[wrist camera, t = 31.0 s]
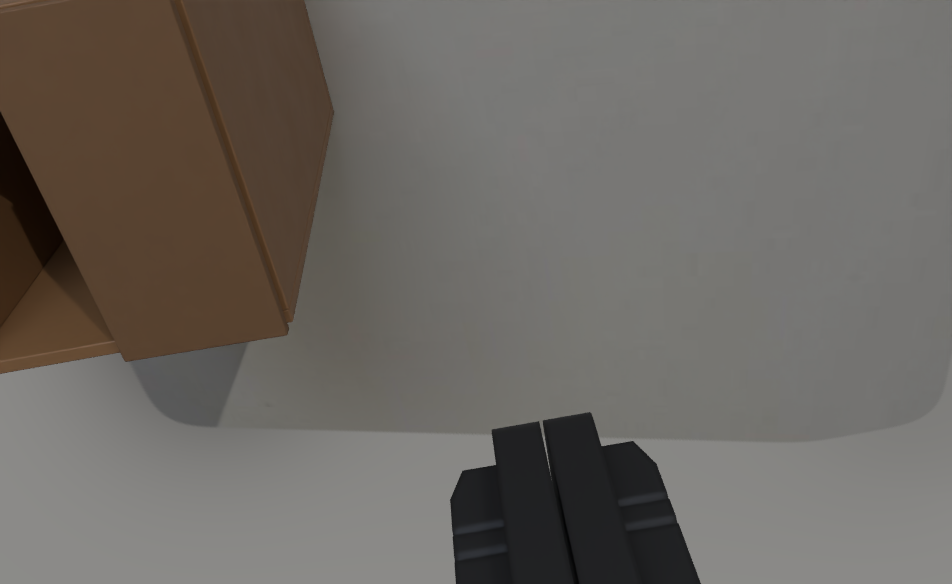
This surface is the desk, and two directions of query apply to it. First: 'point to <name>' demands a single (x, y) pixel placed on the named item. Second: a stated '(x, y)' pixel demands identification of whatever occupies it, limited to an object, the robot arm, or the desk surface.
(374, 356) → the desk surface
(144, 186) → the hatch
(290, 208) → the open wooden box
